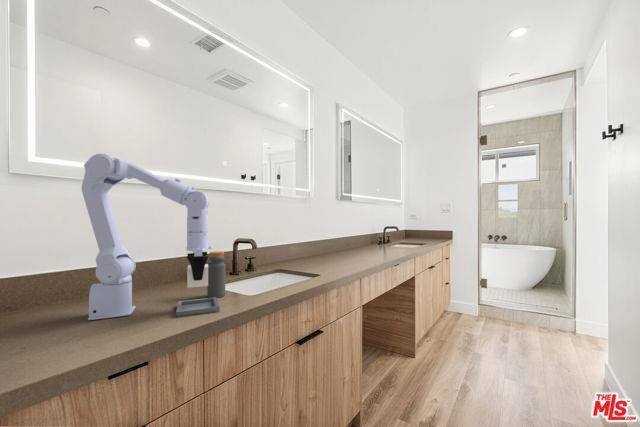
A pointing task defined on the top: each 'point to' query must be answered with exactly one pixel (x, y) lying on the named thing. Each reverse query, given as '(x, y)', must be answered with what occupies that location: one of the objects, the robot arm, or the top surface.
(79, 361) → the top surface
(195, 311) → the slate tray
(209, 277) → the bottle
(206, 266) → the ceramic cube
